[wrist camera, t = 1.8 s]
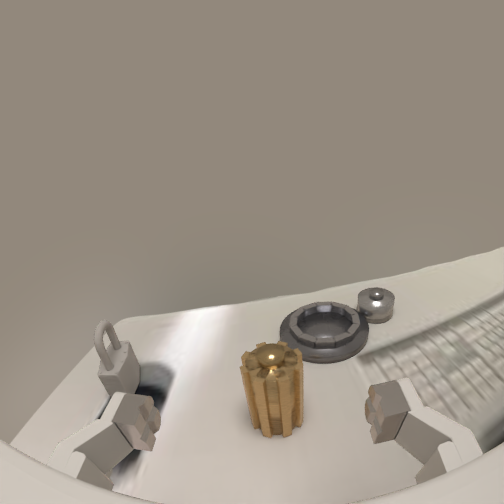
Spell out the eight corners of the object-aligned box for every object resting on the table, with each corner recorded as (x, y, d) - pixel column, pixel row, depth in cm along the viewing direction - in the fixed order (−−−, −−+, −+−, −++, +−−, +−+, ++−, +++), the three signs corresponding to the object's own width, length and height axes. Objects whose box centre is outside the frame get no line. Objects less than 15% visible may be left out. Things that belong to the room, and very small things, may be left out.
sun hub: (376, 299, 46) (378, 279, 44) (399, 314, 40) (402, 293, 39) (349, 310, 44) (350, 289, 43) (372, 328, 39) (374, 305, 37)
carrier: (337, 301, 47) (337, 289, 46) (385, 340, 35) (388, 326, 35) (267, 324, 44) (266, 311, 43) (305, 376, 32) (305, 363, 31)
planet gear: (290, 393, 30) (286, 326, 26) (312, 426, 25) (314, 360, 21) (245, 409, 28) (231, 343, 25) (262, 445, 23) (249, 383, 20)
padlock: (136, 401, 30) (104, 340, 26) (109, 401, 30) (75, 342, 26) (144, 366, 37) (120, 308, 33) (120, 367, 36) (94, 311, 33)
